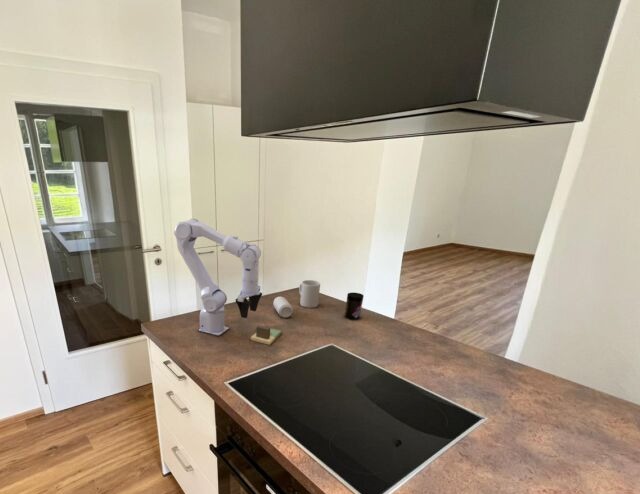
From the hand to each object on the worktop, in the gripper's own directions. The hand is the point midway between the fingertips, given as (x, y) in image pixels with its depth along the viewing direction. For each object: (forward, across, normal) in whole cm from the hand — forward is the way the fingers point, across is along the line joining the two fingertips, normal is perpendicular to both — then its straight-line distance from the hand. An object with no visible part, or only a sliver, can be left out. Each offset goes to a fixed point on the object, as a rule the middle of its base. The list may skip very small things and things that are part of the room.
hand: (248, 313), depth 136 cm
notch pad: (+9, +6, -6) cm, 13 cm away
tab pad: (+9, +1, -6) cm, 11 cm away
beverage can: (+6, +24, -7) cm, 25 cm away
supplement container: (+9, +40, -31) cm, 52 cm away
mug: (+9, +46, -8) cm, 48 cm away
